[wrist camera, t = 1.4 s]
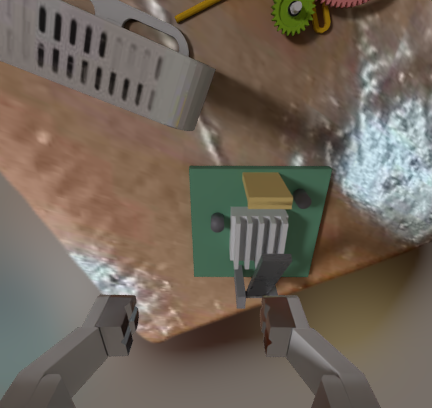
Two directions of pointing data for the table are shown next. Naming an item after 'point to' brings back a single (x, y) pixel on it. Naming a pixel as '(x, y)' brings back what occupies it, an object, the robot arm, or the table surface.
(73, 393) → the robot arm
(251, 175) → the board
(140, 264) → the table surface
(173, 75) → the network device
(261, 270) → the strap
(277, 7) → the mechanical gear assembly
